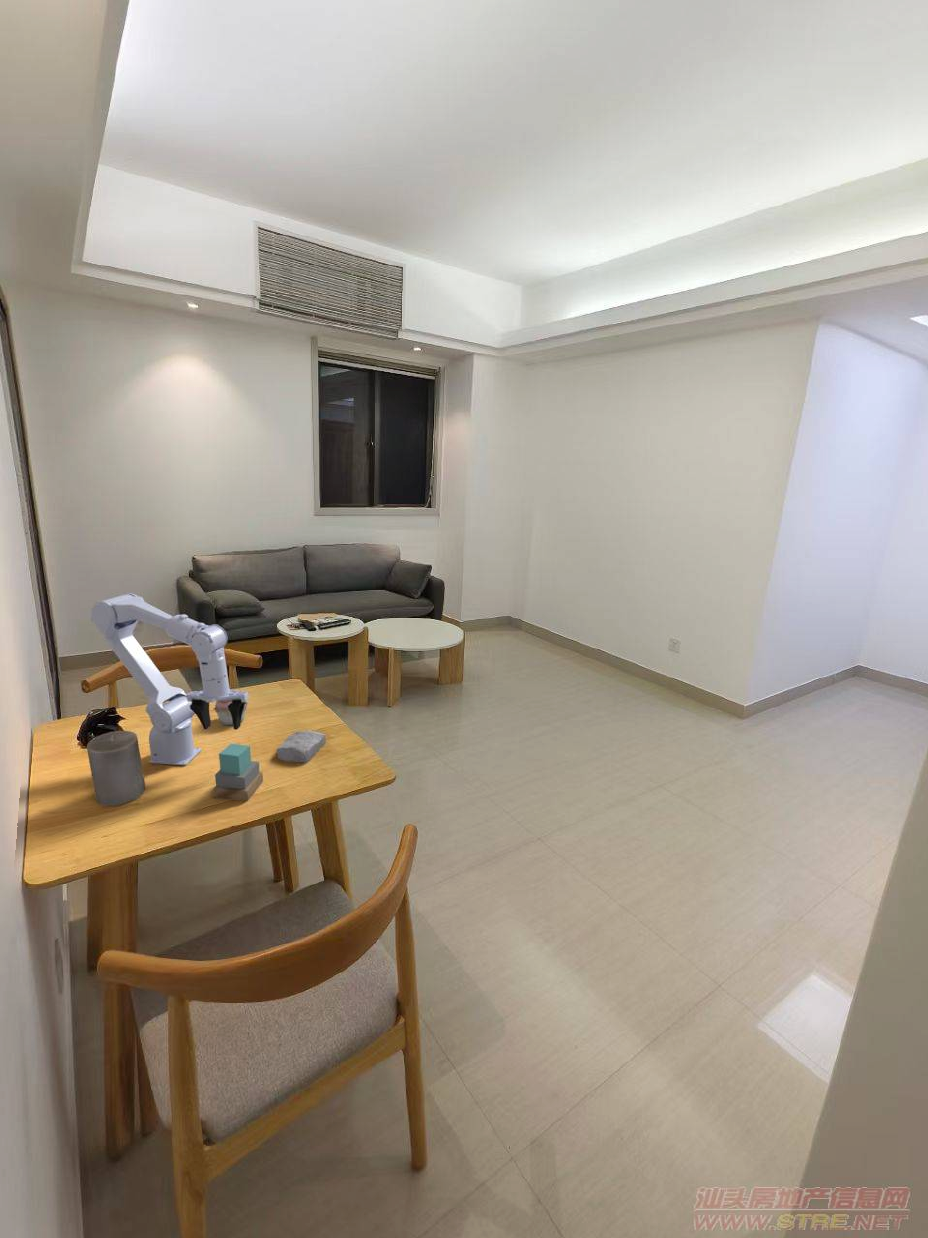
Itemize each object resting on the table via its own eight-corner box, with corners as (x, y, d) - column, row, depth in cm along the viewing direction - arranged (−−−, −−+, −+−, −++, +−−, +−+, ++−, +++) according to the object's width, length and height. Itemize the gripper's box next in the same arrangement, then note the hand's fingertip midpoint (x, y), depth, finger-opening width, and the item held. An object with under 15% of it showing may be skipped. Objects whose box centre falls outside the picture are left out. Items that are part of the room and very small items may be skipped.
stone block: (275, 766, 144) (310, 764, 142) (270, 749, 143) (306, 747, 141) (296, 745, 155) (329, 743, 153) (293, 729, 154) (325, 727, 152)
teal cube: (220, 772, 127) (218, 753, 126) (232, 761, 132) (231, 743, 130) (240, 775, 126) (238, 756, 125) (251, 764, 131) (249, 746, 129)
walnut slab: (214, 800, 127) (213, 788, 126) (231, 780, 135) (230, 769, 134) (248, 802, 126) (247, 791, 125) (263, 783, 134) (262, 772, 133)
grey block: (216, 786, 127) (214, 774, 126) (231, 770, 134) (230, 759, 133) (245, 789, 126) (244, 777, 125) (259, 772, 133) (258, 761, 132)
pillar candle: (113, 781, 132) (104, 724, 127) (154, 783, 131) (145, 726, 127) (85, 806, 122) (74, 745, 118) (129, 808, 122) (119, 748, 118)
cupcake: (213, 717, 165) (210, 686, 162) (246, 711, 169) (244, 681, 166) (216, 731, 157) (213, 698, 154) (251, 724, 161) (248, 693, 158)
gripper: (176, 682, 130) (185, 735, 134) (236, 682, 129) (243, 735, 133) (192, 671, 137) (200, 721, 140) (249, 671, 136) (256, 722, 140)
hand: (222, 727), depth 137 cm, fingers open, 7 cm apart
